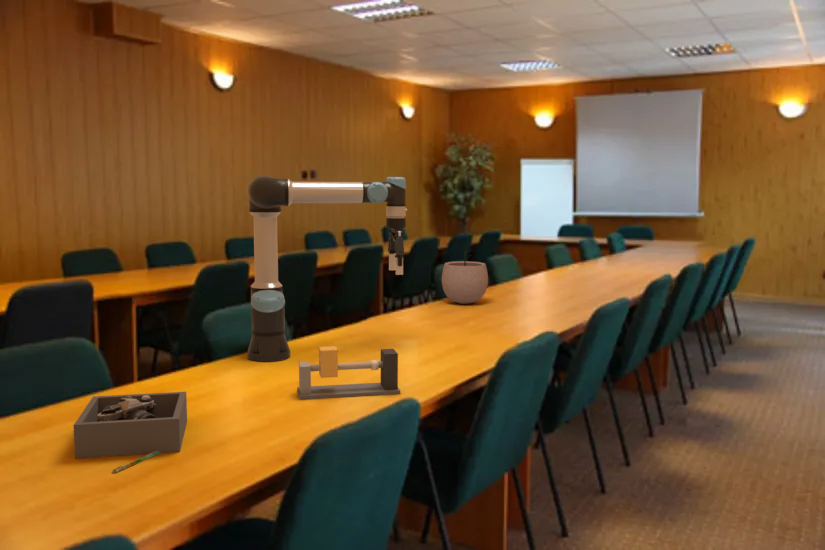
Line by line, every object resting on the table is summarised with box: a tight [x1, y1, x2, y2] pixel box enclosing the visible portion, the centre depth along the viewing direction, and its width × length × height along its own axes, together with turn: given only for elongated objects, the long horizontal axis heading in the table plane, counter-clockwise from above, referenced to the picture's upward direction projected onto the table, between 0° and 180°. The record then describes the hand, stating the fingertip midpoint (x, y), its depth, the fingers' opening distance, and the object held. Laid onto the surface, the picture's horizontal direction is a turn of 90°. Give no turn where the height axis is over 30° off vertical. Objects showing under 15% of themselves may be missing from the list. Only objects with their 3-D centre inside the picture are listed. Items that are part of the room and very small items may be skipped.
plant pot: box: [441, 245, 489, 305], centre depth 387 cm, size 24×24×30 cm
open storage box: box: [72, 391, 188, 459], centre depth 185 cm, size 23×23×8 cm
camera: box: [97, 395, 157, 422], centre depth 185 cm, size 16×10×10 cm, turn 148°
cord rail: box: [296, 348, 401, 400], centre depth 226 cm, size 30×10×12 cm, turn 103°
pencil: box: [112, 450, 162, 474], centre depth 172 cm, size 1×1×18 cm
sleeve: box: [318, 345, 339, 379], centre depth 224 cm, size 5×5×8 cm
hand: (395, 272), depth 290 cm, fingers open, 13 cm apart
